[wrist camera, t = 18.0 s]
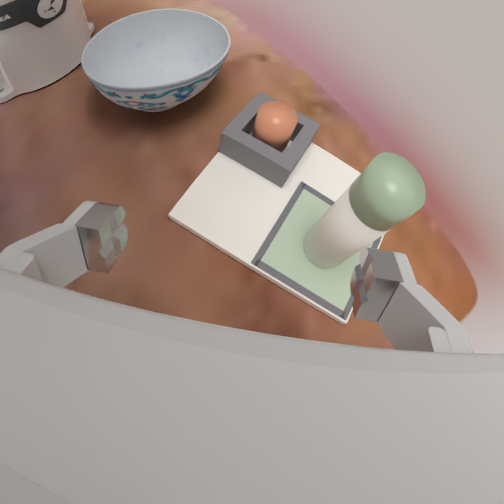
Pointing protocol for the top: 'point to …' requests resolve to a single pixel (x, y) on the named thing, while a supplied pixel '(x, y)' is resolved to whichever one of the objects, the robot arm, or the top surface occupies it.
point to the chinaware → (156, 58)
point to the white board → (272, 208)
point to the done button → (275, 124)
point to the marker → (366, 210)
